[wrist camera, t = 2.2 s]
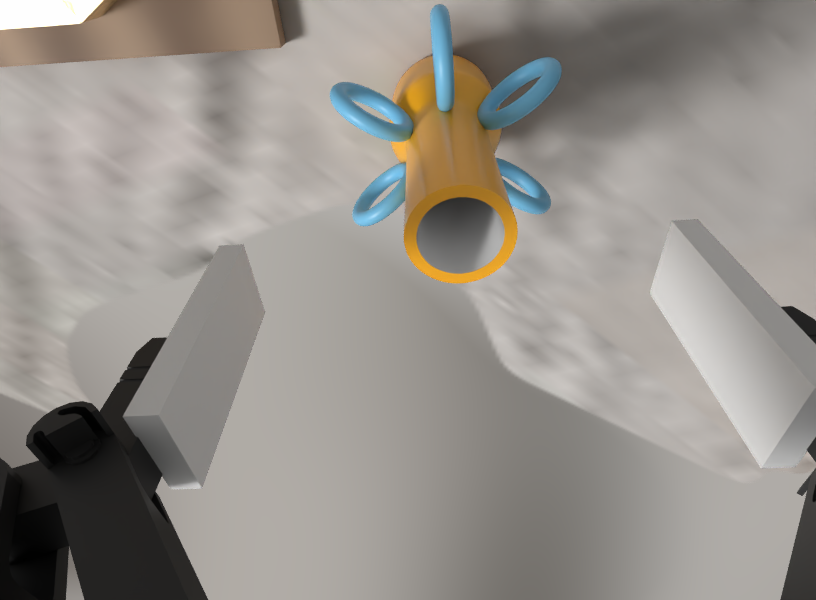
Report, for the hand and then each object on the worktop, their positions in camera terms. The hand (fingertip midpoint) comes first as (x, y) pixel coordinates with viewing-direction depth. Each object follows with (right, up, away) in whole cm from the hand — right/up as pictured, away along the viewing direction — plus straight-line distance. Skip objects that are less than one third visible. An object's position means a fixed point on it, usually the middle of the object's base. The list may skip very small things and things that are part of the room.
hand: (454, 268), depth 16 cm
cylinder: (0, +11, +14) cm, 17 cm away
